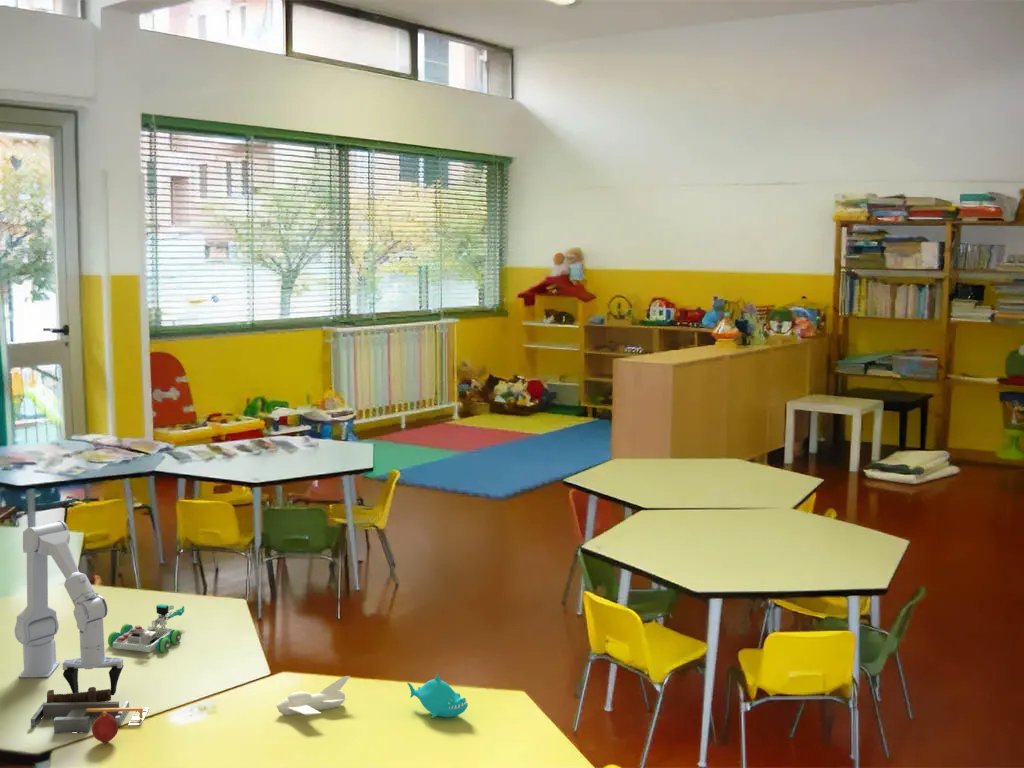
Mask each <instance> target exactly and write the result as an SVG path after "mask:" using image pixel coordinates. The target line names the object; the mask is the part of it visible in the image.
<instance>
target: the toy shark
mask: <svg viewBox="0 0 1024 768" xmlns="http://www.w3.org/2000/svg"><path fill="white" fill-rule="evenodd" d="M407 686H408V688H409V690H410V698H413V697H417V700H419V701H420V704H421V705H422V707H424V708H425V710H426V711H428V712H429V713H430V714H431V718H436V717H437V716H438V717H441V718H453V717H458V716H459V715H461V714H463V713H464V712H465V711H466V710H467V708H468V705H469V704H468V702H467V699H466V697H461V694H460V693H459V692H456V691H455V690H454V689H453V688H452V687H451V686H450V685H449V684H448V683H447V682H446V681H444V680H441V679H440V676H439V674H438V673H436V675H435V678H433V679H430V680H428V681H426V682H425V684H423V685H422V686H417V687H418V688H417V689H415V688H414V687H413V685H412V684H411V683H410V682H407Z"/></svg>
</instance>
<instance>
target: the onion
mask: <svg viewBox="0 0 1024 768" xmlns="http://www.w3.org/2000/svg"><path fill="white" fill-rule="evenodd" d="M118 731H119V726H118V722H117V720H116V719H115V717H113V716H112V715H110V714H108V713H107V712H103V713H102V714H101V716H99V717H96V719H95V720H94V722H93V724H92V727H91V732H92V736H93V737H94V738H95V740H97V741H99V742H100V743H102V744H105V745H106V744H108V743H109V742H111V741H112V740H113V739H114V738H115V736H116V735H117V734H118Z"/></svg>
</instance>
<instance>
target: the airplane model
mask: <svg viewBox="0 0 1024 768" xmlns="http://www.w3.org/2000/svg"><path fill="white" fill-rule="evenodd" d="M350 678H351V675H346V676H342V677H341V678H339V679H337V680H335V682H333V683H331V684H330V685H328V686H326V687H325V688H324V689H322V690H321V691H320V692H318V693H313V694H312V693H310V692H308V691H296V692H295V691H294V692H291V693H290V694H289V695H288V696H287V698H284V699H283V700H282V701H280V702H279V703H278V704H276V705H275V706H276V708H277V711H278V712H279V713H281V714H283V715H285V716H287V717H288V716H295V715H300V714H302V715H304V716H310V715H319V714H322V712H321V711H323V710H329V709H330V710H331V709H336V708H339V707H340V706H341V705H342V704H343V703H345V701H346V700H348V698H346V696H345V695H346V694H345V692H344V690H342V688H343V686H344V685H345V684H346V683H347V681H348V680H349V679H350Z"/></svg>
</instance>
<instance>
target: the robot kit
mask: <svg viewBox="0 0 1024 768" xmlns="http://www.w3.org/2000/svg"><path fill="white" fill-rule="evenodd" d="M155 608H156V614H158V615H157V618H155V620H151V626H150V625H149V626H147V628H144V627H143V628H142V626H141V625H140V624H136V625H134V626H133V625H132V624H128V623H125V624H122V626H121V627H120V632H117V631H112V632H111V633H110V634H109V635H108V638H107V644H108V647H109V646H110V647H112V648H113V649H122V650H127V651H128V650H130V651H138V652H144V653H151V652H153V651H154V650H155V649H157V652H158V653H159V652H160V653H162V654H165V653H167V652H168V651H169V649H170V646H171V644H172V645H175V646H176V645H178V644H179V643H180V642H181V640H182V632H181V630H180V629H172V628H166V625H168V620H170V619H172V618H174V617H177V616H182V615H183V614H184V612H185V606H184V605H183V606H182V605H181V608H178V609H176V610H175V611H172V610H174V609H175V607H174V605H172V604H171V605H169V604H163V603H158V604H156V606H155ZM158 625H159V627H158ZM160 626H161V627H160ZM177 643H178V644H177ZM164 652H165V653H164Z"/></svg>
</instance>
